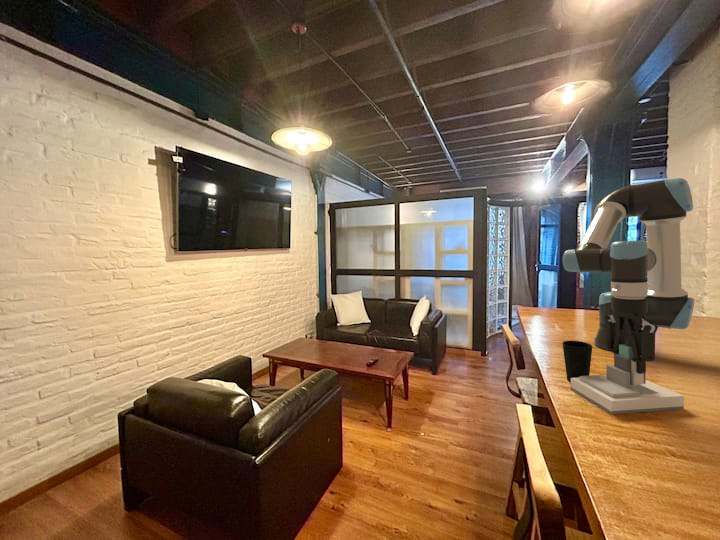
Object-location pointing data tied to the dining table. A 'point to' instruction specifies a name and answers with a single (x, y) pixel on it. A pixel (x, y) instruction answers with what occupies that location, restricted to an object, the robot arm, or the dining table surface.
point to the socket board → (631, 398)
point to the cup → (577, 358)
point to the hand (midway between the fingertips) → (629, 380)
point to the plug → (625, 357)
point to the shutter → (612, 382)
